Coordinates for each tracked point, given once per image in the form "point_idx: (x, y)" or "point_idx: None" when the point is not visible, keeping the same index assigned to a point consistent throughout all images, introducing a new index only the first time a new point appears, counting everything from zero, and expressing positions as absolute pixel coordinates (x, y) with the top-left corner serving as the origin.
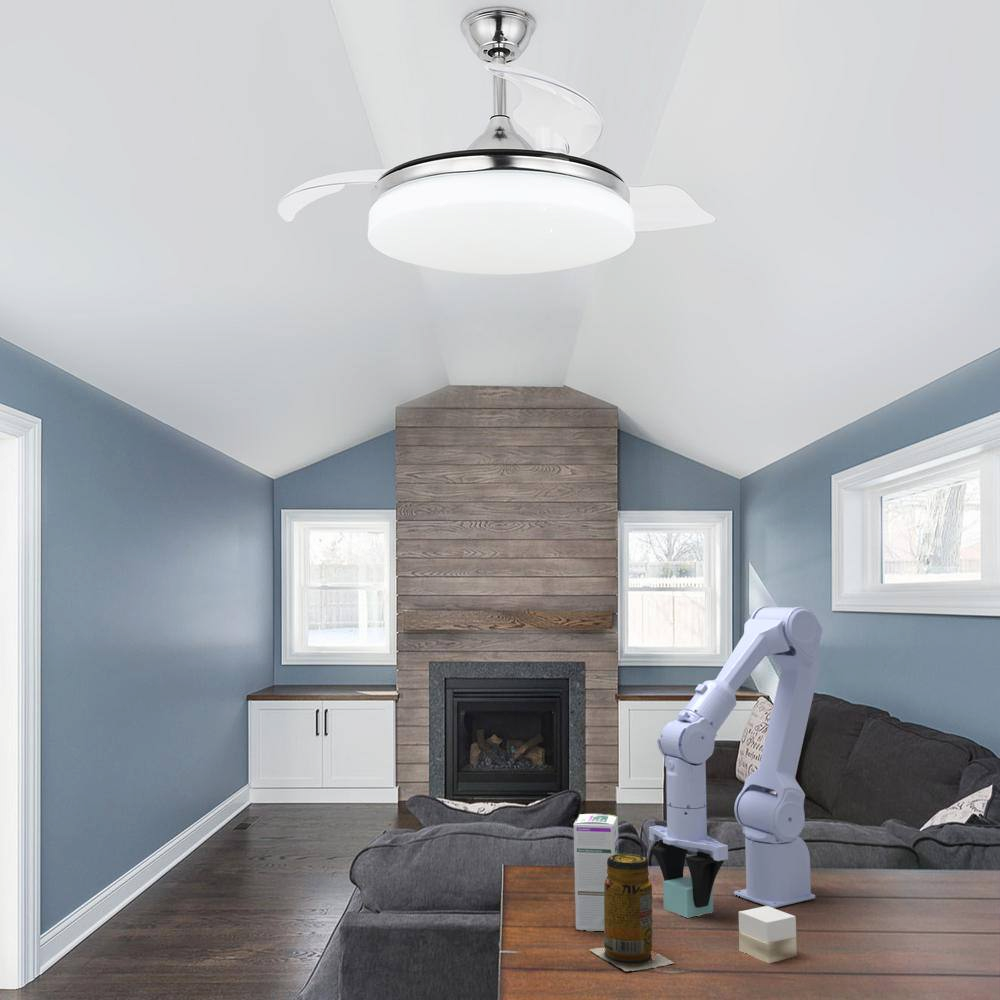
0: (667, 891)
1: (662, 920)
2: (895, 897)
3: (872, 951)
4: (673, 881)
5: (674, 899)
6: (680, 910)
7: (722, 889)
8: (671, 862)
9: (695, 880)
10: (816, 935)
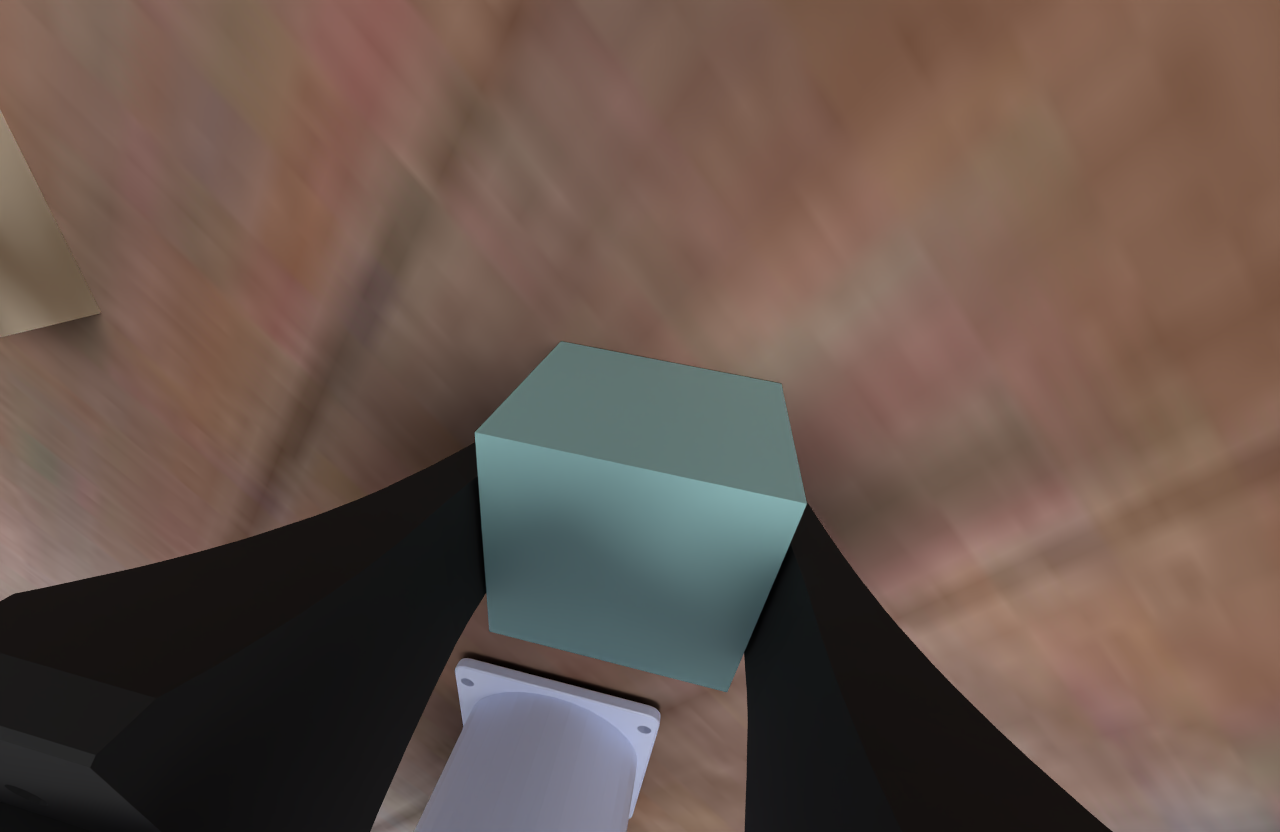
0: (744, 444)
1: (640, 184)
2: (404, 816)
3: (20, 502)
4: (725, 546)
5: (661, 403)
6: (613, 367)
7: (744, 739)
8: (801, 753)
9: (357, 513)
10: (182, 523)
